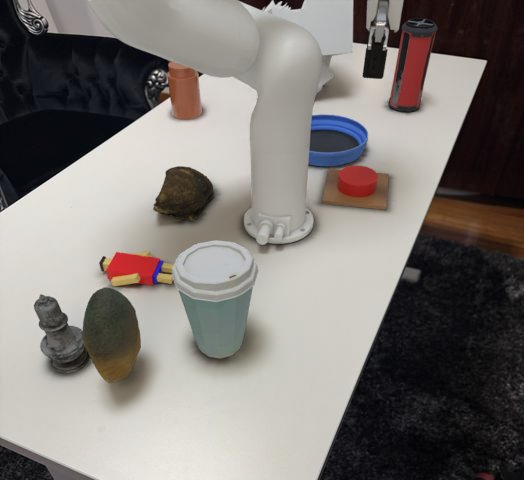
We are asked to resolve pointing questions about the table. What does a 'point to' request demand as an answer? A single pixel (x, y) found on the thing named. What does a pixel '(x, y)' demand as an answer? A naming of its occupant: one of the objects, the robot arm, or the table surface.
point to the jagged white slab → (322, 27)
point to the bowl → (335, 140)
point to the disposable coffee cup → (216, 293)
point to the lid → (357, 181)
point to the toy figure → (136, 269)
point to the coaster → (372, 201)
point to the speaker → (412, 64)
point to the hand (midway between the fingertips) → (374, 66)
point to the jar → (184, 91)
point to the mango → (111, 334)
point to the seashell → (183, 193)
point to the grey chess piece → (60, 337)
